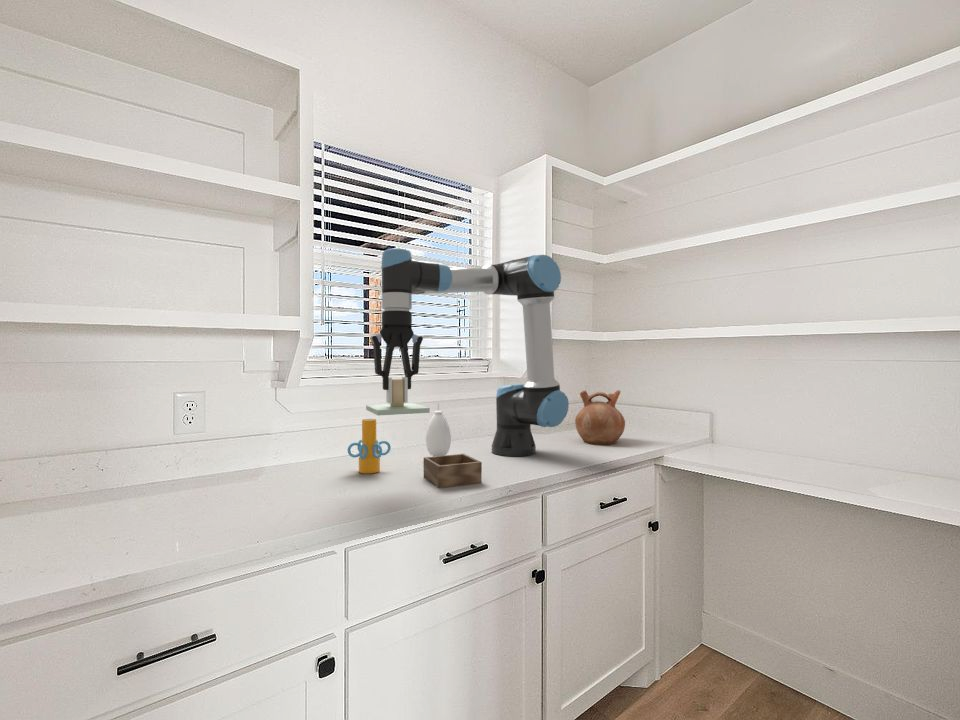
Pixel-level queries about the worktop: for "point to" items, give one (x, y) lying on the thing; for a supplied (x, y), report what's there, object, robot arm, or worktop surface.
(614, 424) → the jug
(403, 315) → the robot arm
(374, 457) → the cylinder
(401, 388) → the lid
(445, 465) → the box
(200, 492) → the worktop surface
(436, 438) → the sauce bottle
